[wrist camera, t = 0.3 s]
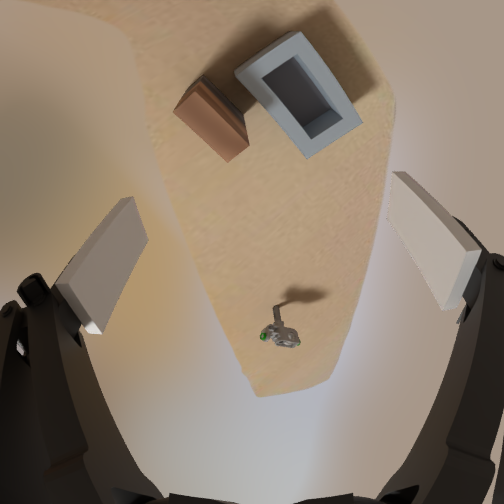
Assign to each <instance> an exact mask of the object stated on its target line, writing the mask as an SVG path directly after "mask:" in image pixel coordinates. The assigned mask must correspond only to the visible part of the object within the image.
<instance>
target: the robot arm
mask: <svg viewBox="0 0 504 504" xmlns="http://www.w3.org/2000/svg"><path fill="white" fill-rule="evenodd" d="M387 220H388V222H389V223H390V225H391V226H392V227H393V229H394V230H395V232H396V233H397V235H398V236H399V238H400V239H401V241H402V242H403V244H404V246H405V247H406V249H407V250H408V252H409V254H410V255H411V257H412V258H413V260H414V262H415V263H416V265H417V267H418V268H419V270H420V272H421V273H422V275H423V277H424V278H425V280H426V282H427V284H428V285H429V287H430V289H431V291H432V293H433V295H434V297H435V298H436V300H437V302H438V304H439V306H440V308H441V310H442V311H445V310H449V309H454V308H457V306H458V304H459V302H460V300H461V298H462V296H463V298H464V299H465V301H466V305H465V307H464V309H463V311H462V313H461V315H460V317H459V319H458V320H457V323H458V324H459V322H460V326H459V330H458V333H457V337H456V341H455V344H454V348H453V351H452V354H451V357H450V361H449V364H448V367H447V370H446V372H445V375H444V378H443V381H442V384H441V386H440V389H439V391H438V394H437V396H436V399H435V401H434V404H433V406H432V408H431V411H430V413H429V415H428V417H427V420H426V422H425V424H424V426H423V428H422V430H421V432H420V434H419V436H418V438H417V440H416V442H415V444H414V446H413V448H412V449H411V451H410V453H409V455H408V457H407V458H406V460H405V462H404V463H403V465H402V466H401V467H400V469H399V470H398V471H397V472H396V473H395V474H394V475H393V476H392V477H391V478H390V480H389V481H388V482H387V484H386V485H385V486H384V488H383V489H382V491H381V492H380V493H379V495H378V496H377V498H376V499H371V498H366V497H359V496H353V493H350V494H345V495H339V496H333V497H325V498H317V499H308V500H304V501H301V502H298V503H294V504H482V503H483V501H484V498H485V496H486V494H487V492H488V490H489V487H490V485H491V483H492V480H493V477H494V474H495V464H494V463H493V462H492V461H491V460H490V454H491V450H492V448H493V445H494V442H495V438H496V435H497V432H498V428H499V425H500V421H501V417H502V414H503V409H504V256H502V255H500V254H496V253H492V254H490V253H489V252H488V251H487V249H486V248H485V247H484V246H483V245H482V244H481V242H480V241H479V240H478V239H477V238H476V237H475V236H474V234H473V233H472V232H471V231H470V230H469V229H468V228H467V227H466V225H465V224H464V223H463V222H461V221H460V220H458V219H457V218H455V217H453V216H451V215H450V214H449V212H448V211H447V210H446V209H445V208H444V207H443V206H442V205H441V204H440V203H439V202H437V201H436V199H434V198H433V197H432V196H431V195H430V194H429V193H428V192H427V191H426V190H425V189H424V188H423V187H422V186H420V185H419V184H418V183H417V182H416V181H415V180H414V179H413V178H412V177H411V176H410V175H408V174H407V173H406V172H392V179H391V190H390V199H389V207H388V214H387ZM147 242H148V237H147V234H146V232H145V229H144V226H143V224H142V220H141V218H140V215H139V212H138V209H137V206H136V203H135V200H134V197H133V196H132V197H128V198H122V199H121V200H120V201H119V202H118V203H117V204H116V205H115V206H114V208H113V209H112V210H111V211H110V212H109V214H108V215H107V216H106V217H105V218H104V219H103V220H102V222H101V223H100V224H99V225H98V226H97V228H96V229H95V230H94V231H93V233H92V234H91V235H90V237H89V238H88V239H87V240H86V241H85V243H84V244H83V245H82V247H81V248H80V249H79V251H78V252H77V253H76V254H75V255H74V257H73V258H72V259H71V260H70V262H69V263H68V265H67V266H66V267H65V269H64V271H62V273H61V274H60V276H59V277H58V279H57V280H56V282H55V283H54V284H53V286H52V287H51V289H50V288H49V287H48V285H47V284H46V282H45V280H44V279H43V277H42V275H41V274H40V273H34V274H32V275H30V276H28V277H27V278H26V279H24V280H23V282H22V283H21V284H20V285H19V287H18V289H17V293H18V294H19V296H20V297H21V299H22V300H23V302H24V303H25V304H26V306H27V307H25V308H21V307H20V306H19V304H18V303H17V301H15V300H13V301H10V302H8V303H6V304H5V305H4V306H3V307H2V309H1V311H0V504H237V503H234V502H227V501H220V500H214V499H206V498H198V497H190V496H184V495H177V494H172V493H170V494H169V497H167V498H164V497H163V496H162V494H161V493H160V491H159V490H158V489H157V487H156V486H155V485H154V484H153V483H152V482H151V481H150V480H149V479H148V478H147V477H146V476H144V474H143V473H142V472H141V471H140V469H139V468H138V466H137V464H136V462H135V461H134V459H133V457H132V455H131V454H130V451H129V450H128V448H127V446H126V444H125V442H124V440H123V438H122V436H121V434H120V432H119V430H118V428H117V426H116V424H115V421H114V419H113V417H112V415H111V413H110V410H109V408H108V406H107V403H106V401H105V399H104V396H103V394H102V391H101V388H100V386H99V383H98V381H97V378H96V375H95V372H94V370H93V367H92V364H91V361H90V358H89V355H88V352H87V348H86V345H85V342H84V339H83V336H82V334H81V333H80V331H79V328H80V326H81V324H82V325H83V326H84V327H85V329H86V330H87V331H88V333H93V334H103V332H104V329H105V327H106V325H107V323H108V320H109V318H110V316H111V314H112V312H113V309H114V307H115V305H116V303H117V301H118V299H119V297H120V295H121V293H122V290H123V288H124V286H125V284H126V282H127V280H128V278H129V276H130V274H131V272H132V270H133V268H134V266H135V265H136V263H137V261H138V259H139V257H140V255H141V253H142V251H143V249H144V248H145V246H146V244H147ZM460 320H461V321H460ZM17 344H18V345H19V346H20V347H21V348H22V349H23V351H24V355H21V354H20V353H19V352H18V351H17ZM492 504H504V437H503V445H502V453H501V459H500V464H499V470H498V475H497V479H496V485H495V489H494V494H493V500H492Z"/></svg>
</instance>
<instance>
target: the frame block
mask: <svg viewBox="0 0 504 504" xmlns="http://www.w3.org/2000/svg"><path fill="white" fill-rule="evenodd" d="M234 73H235V77H236V78H237V79H238V80H239V81H240V82H241V83H242V84H243V85H244V86H245V87H246V88H247V89H248V90H249V92H250V93H251V94H252V95H253V96H254V97H255V98H256V99H257V100H258V101H259V103H260V104H261V105H262V106H263V107H264V108H265V109H266V110H267V112H268V113H269V114H270V115H271V116H272V117H273V119H274V120H275V121H276V122H277V123H278V124H279V126H280V127H281V128H282V129H283V130H284V132H285V133H286V134H287V135H288V136H289V138H290V139H291V140H292V141H293V143H294V144H295V145H296V146H297V148H298V149H299V150H300V151H301V153H302V154H303V155H304V156H305V158H306V159H308V158H310V157H311V156H313V155H314V154H316V153H317V152H319V151H320V150H322V149H323V148H325V147H326V146H328V145H329V144H331V143H332V142H334V141H336V140H337V139H339V138H340V137H342V136H343V135H345V134H346V133H348V132H349V131H351V130H353V129H354V128H356V127H357V126H359V125H360V124H362V123H363V122H362V120H361V118H360V116H359V115H358V113H357V111H356V110H355V108H354V106H353V105H352V103H351V101H350V100H349V98H348V97H347V95H346V93H345V92H344V90H343V89H342V87H341V86H340V84H339V83H338V81H337V80H336V78H335V77H334V75H333V74H332V72H331V71H330V69H329V68H328V67H327V65H326V64H325V62H324V61H323V60H322V58H321V57H320V56H319V54H318V53H317V52H316V50H315V49H314V48H313V46H312V45H311V44H310V42H309V41H308V40H307V39H306V37H305V36H304V35H303V34H302V32H301V31H289V32H287V33H286V34H284V35H283V36H281V37H280V38H278V39H277V40H275V41H274V42H272V43H271V44H269V45H268V46H266V47H265V48H263V49H262V50H260V51H259V52H257V53H256V54H255V55H253V56H252V57H250V58H249V59H248V60H246V61H245V62H244V63H242V64H241V65H240V66H238V67H237V68H236V69H234Z"/></svg>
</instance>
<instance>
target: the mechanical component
mask: <svg viewBox="0 0 504 504" xmlns="http://www.w3.org/2000/svg"><path fill="white" fill-rule="evenodd" d="M273 314H274V320H275V322H274V323H273V325H272V324H269V325H268V326H267V327H266V328H264V329H263V330H262V331H261V335H260V339H261V340H262V341H264V342H267V341H268V340H269V339H270V338H272V340H273V342H275V345H276V346H283V347H289V348H294V347H295V346H299V345H300V339H299V337H298V333H297V331H296V330H295V329H292V328H287V327H284V322H283V321H281V316H280V310H279V306H275V307H274V308H273ZM271 334H272V335H271ZM284 343H285V344H284Z"/></svg>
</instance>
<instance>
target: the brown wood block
mask: <svg viewBox="0 0 504 504" xmlns="http://www.w3.org/2000/svg"><path fill="white" fill-rule="evenodd" d="M173 113H174V114H175V115H177V116H178V117H179V118H180V119H181V120H182V121H183V122H184V123H185V124H186V125H188V126H189V127H190V128H191V129H192V130H193V131H194V132H195V133H196V134H197V135H198V136H200V137H201V138H202V139H203V140H204V141H205V142H206V143H207V144H208V145H209V146H210V147H211V148H212V149H213V150H215V151H216V152H217V153H218V154H219V155H220V156H221V157H222V158H223V159H224V160H225V161H226V162H227V163H228V162H229V161H230V160H232V159H233V158H234V157H235V156H237V155H238V154H239V153H241V152H242V151H243V150H244V149H246V148H247V147H248V146H250V145H249V140H248V135H247V130H246V126H245V121H244V116H243V114H242V113H241V112H240V111H239V110H238V109H237V108H236V107H235V106H234V105H233V104H232V103H231V102H230V101H229V100H228V99H227V98H226V97H225V96H224V95H223V94H222V93H221V92H220V91H219V90H218V89H217V88H216V87H215V86H214V85H213V84H212V83H211V82H210V81H209V80H208V79H207V78H206V77H205V76H204V75H203V76H202V77H201V78H199V79H198V80H197V81H196V82H195V83H194V84H193V85H191V86H190V87H189V88H188V89H187V90H186V92H185V93H184V95H183V96H182V98H181V99H180V101H179V103H178V104H177V106H176V107H175V109H174V111H173Z"/></svg>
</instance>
